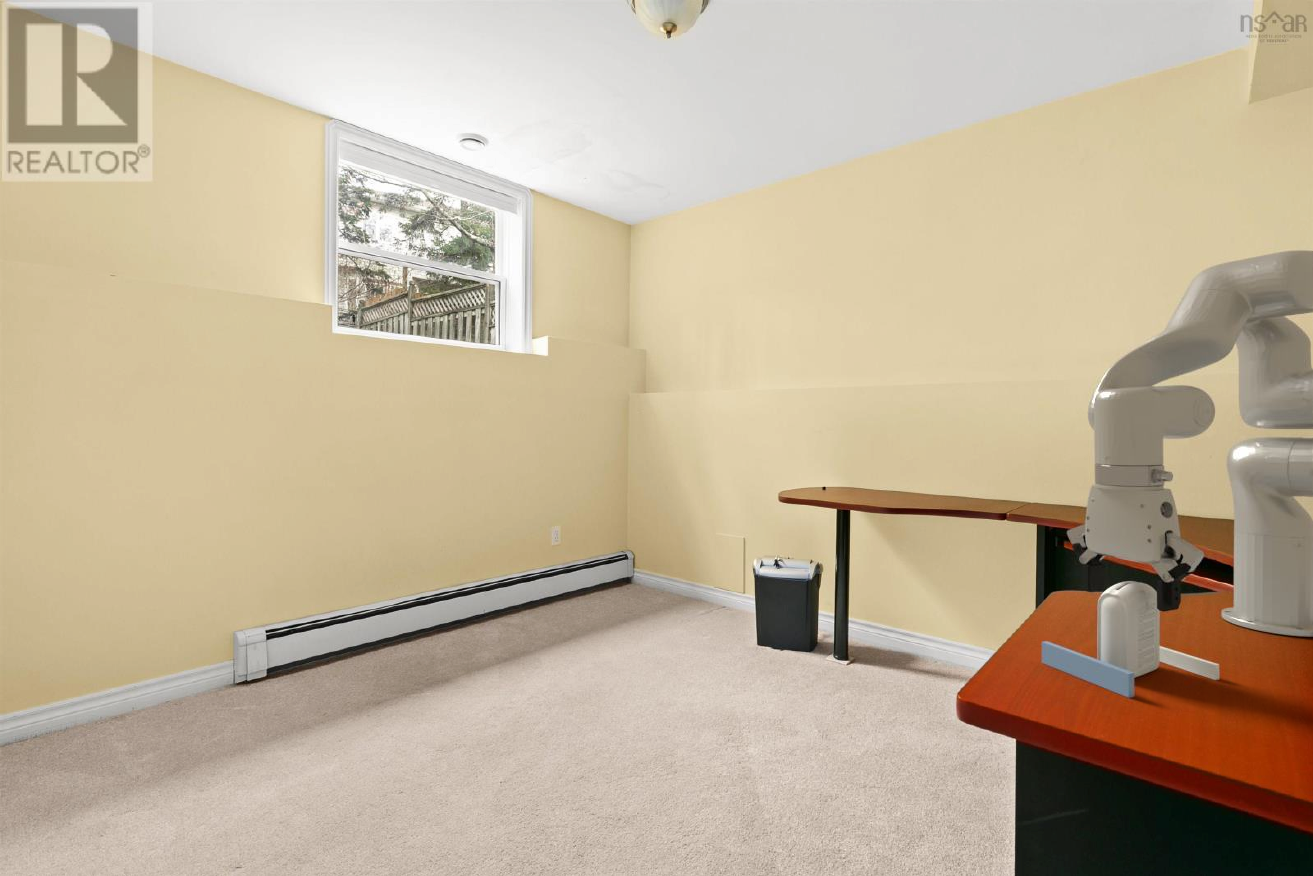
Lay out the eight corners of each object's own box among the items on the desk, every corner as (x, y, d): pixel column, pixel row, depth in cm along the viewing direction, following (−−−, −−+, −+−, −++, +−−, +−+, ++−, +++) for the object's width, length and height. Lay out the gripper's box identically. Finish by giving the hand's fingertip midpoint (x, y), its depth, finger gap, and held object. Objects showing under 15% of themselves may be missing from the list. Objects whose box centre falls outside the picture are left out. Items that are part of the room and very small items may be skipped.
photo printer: (1128, 658, 89) (1129, 574, 88) (1164, 668, 85) (1164, 580, 85) (1091, 673, 84) (1092, 584, 83) (1128, 684, 80) (1128, 591, 80)
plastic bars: (1126, 648, 93) (1126, 628, 92) (1219, 679, 81) (1219, 657, 81) (1041, 662, 87) (1041, 642, 87) (1128, 697, 76) (1128, 674, 76)
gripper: (1220, 480, 77) (1221, 614, 77) (1087, 471, 93) (1088, 581, 94) (1179, 484, 75) (1180, 622, 75) (1050, 474, 91) (1051, 587, 91)
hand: (1129, 599), depth 84 cm, fingers open, 9 cm apart
